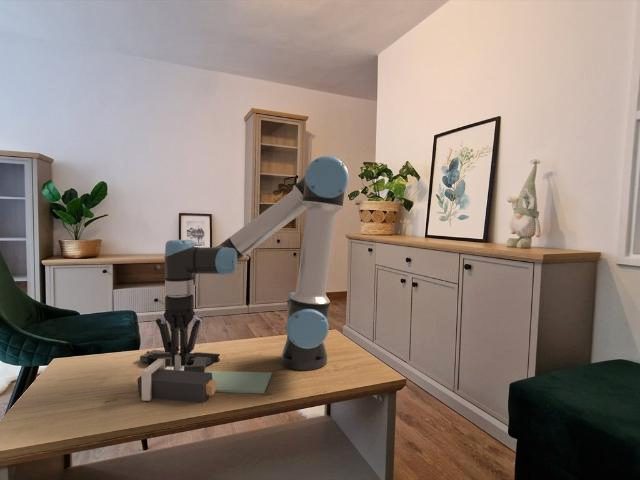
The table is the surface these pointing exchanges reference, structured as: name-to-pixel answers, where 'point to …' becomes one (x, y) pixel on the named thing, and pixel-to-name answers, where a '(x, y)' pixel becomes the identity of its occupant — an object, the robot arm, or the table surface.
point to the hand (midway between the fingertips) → (179, 376)
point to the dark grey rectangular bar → (180, 385)
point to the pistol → (196, 358)
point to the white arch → (147, 377)
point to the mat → (241, 381)
